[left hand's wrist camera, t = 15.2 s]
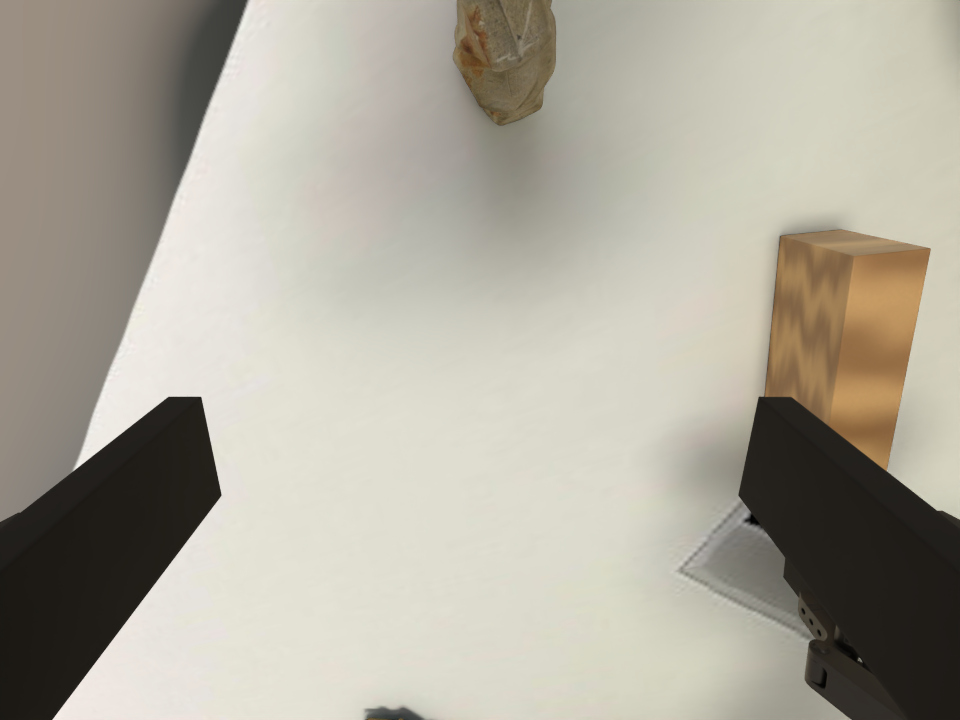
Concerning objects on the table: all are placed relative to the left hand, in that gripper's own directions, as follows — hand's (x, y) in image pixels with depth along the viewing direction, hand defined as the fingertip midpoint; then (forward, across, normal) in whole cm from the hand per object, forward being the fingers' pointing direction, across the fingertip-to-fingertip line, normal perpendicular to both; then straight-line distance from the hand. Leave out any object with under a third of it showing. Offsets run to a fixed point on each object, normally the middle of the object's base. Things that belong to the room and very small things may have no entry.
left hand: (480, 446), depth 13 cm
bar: (+31, +27, -11) cm, 43 cm away
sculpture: (+31, +1, +12) cm, 34 cm away
